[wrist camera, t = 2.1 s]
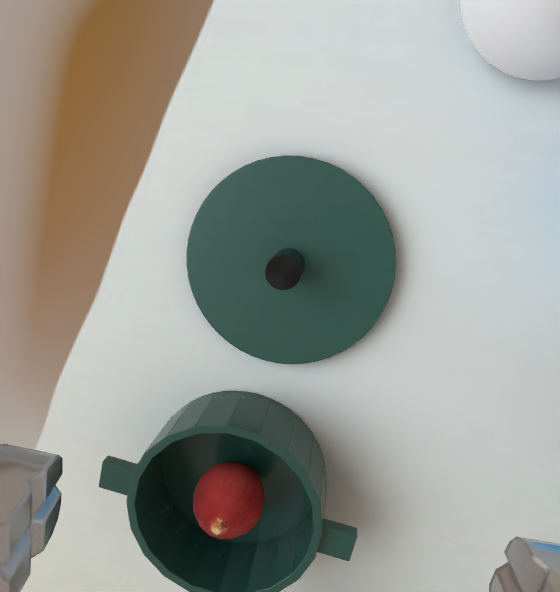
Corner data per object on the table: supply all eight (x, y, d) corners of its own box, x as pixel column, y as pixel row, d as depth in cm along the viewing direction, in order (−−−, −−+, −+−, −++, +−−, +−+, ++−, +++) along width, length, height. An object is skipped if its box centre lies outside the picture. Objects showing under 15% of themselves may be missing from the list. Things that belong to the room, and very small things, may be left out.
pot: (330, 574, 46) (328, 634, 40) (117, 510, 48) (83, 559, 42) (376, 426, 43) (381, 468, 36) (143, 362, 44) (110, 391, 38)
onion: (257, 512, 45) (239, 580, 38) (198, 487, 46) (168, 550, 38) (280, 458, 44) (265, 518, 36) (218, 433, 44) (191, 487, 36)
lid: (362, 381, 42) (364, 405, 37) (174, 330, 43) (154, 348, 38) (420, 184, 38) (430, 184, 33) (212, 134, 39) (194, 128, 34)
